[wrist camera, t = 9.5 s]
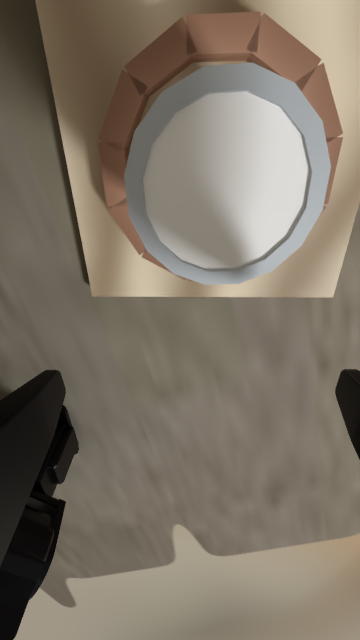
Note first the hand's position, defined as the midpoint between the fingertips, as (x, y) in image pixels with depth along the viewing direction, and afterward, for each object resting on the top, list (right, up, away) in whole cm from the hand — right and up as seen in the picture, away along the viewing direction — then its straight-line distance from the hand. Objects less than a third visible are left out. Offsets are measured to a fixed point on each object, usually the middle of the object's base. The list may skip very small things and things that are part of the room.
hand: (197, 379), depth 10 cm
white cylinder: (+1, +10, +7) cm, 12 cm away
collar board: (+1, +10, +7) cm, 13 cm away
